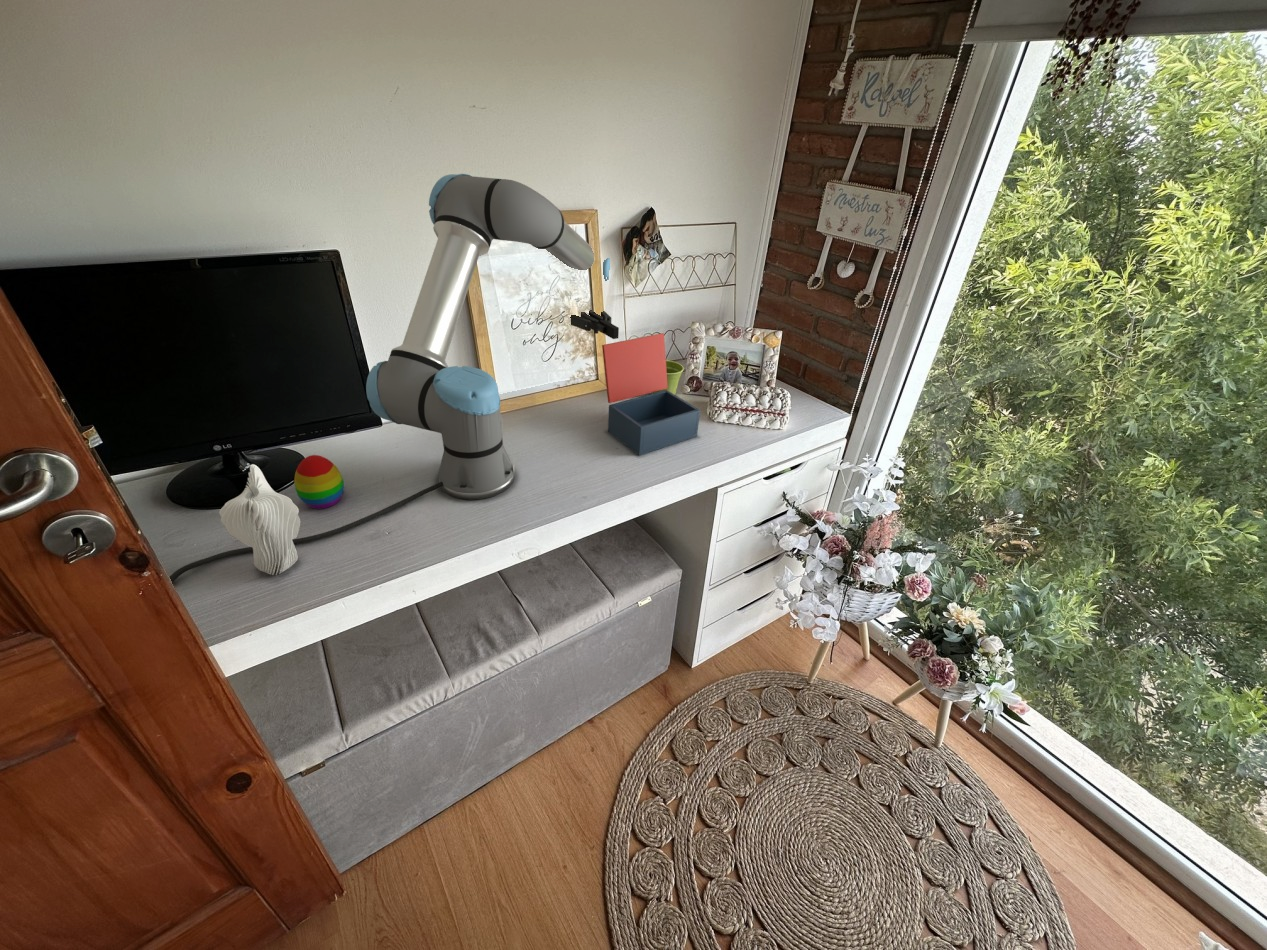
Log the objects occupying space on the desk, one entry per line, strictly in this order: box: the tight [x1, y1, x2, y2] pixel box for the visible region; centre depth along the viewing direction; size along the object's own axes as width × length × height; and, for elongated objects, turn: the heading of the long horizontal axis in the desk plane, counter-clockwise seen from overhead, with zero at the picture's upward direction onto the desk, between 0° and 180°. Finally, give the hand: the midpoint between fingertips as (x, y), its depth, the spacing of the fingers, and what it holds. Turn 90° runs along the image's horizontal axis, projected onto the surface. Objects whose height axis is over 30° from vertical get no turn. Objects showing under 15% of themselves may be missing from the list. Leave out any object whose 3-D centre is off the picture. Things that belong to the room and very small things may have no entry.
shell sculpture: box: [218, 463, 301, 576], centre depth 92 cm, size 8×8×18 cm
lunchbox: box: [607, 390, 701, 456], centre depth 140 cm, size 13×18×7 cm
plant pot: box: [652, 359, 685, 395], centre depth 159 cm, size 9×9×9 cm
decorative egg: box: [293, 454, 345, 510], centre depth 110 cm, size 8×8×10 cm
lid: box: [601, 332, 668, 404], centre depth 140 cm, size 14×18×1 cm
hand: (616, 333), depth 143 cm, fingers closed
